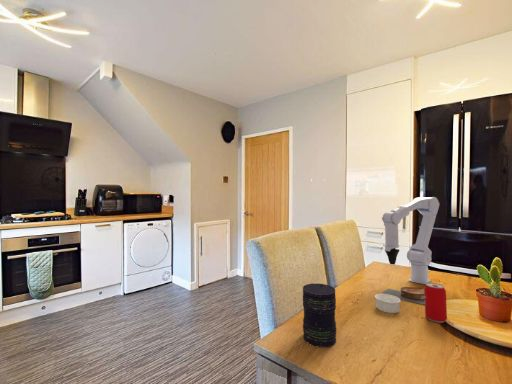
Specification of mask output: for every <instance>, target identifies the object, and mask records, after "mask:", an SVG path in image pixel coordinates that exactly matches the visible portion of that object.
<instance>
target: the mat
mask: <svg viewBox="0 0 512 384" xmlns="http://www.w3.org/2000/svg"><path fill="white" fill-rule="evenodd" d="M380 294H389V295H393V296H396V297H398V298H399V299H400V300H401V301H405V302H409V303H414V304H418V305H422V306H425V300H415V299H409V298H406V297H404V296H403V295H402V294H401V290H398V289H393V288H387V289H385V290H384V291H383V292H381V293H380Z"/></svg>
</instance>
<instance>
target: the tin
mask: <svg viewBox="0 0 512 384" xmlns="http://www.w3.org/2000/svg"><path fill="white" fill-rule="evenodd" d="M400 291H401V294H402V295H403V296H404V297H406V298H409V299H415V300H425V293H424V287H418V286H417V287H415V286H403V287H400Z"/></svg>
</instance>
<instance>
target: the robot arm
mask: <svg viewBox="0 0 512 384" xmlns="http://www.w3.org/2000/svg"><path fill="white" fill-rule="evenodd" d="M440 205H441V203H440V202H439V199H438V198H437V197H436V196H432V197H429V196H428V197H419V196H418V197H415V198H413V200H412V201H411V202H409V203H407V204H406V205H398V206H397V207H396V208H395V209H391V211H386V212H384V213H383V215H382V217H381V221H382V222H383V226H384V231H385V232H384V233H385V237H384V241H385V243H384V244H382V246H383V247H384V252H385V253H386V256H387V259H388V262H389V264H390V265H396V262H397V257H398V255H399V252H400V249H399V248H400V245H399V224H400V223H401V221H402V220H403V219H405V218H407V217H408V216H409V215H410V212H412V211H415V210H417V211H418V212H419V213H420V215H422V220H421V223H420V227H419V230H418V234H417V236H416V241H415V243H414V244H413V245H411V246H410V247H409V250H408V251H407V252H406V259H407V260H408V261H409V264H410V278H409V279H408V282H412V283H417V284H422V285H426V283H431V279H429V268H428V266H429V265H430V264H431V262H432V259H433V258H432V253H433V252H432V250H431V249H430V248H429V243H430V239H431V236H432V233H433V228H434V225H435V222H436V218H437V215H438V211H439V208H440Z"/></svg>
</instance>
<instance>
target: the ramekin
mask: <svg viewBox="0 0 512 384" xmlns="http://www.w3.org/2000/svg"><path fill="white" fill-rule="evenodd" d="M374 298H375V305H376V308H377V309H378V310H379V311H381V312H384V313H389V314H397V313H399V312H400V311H401V309H400V308H401V302H402V300H401V299H399V298H398V297H396V296H393V295H389V294H381V293H377V294H375V295H374Z"/></svg>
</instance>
